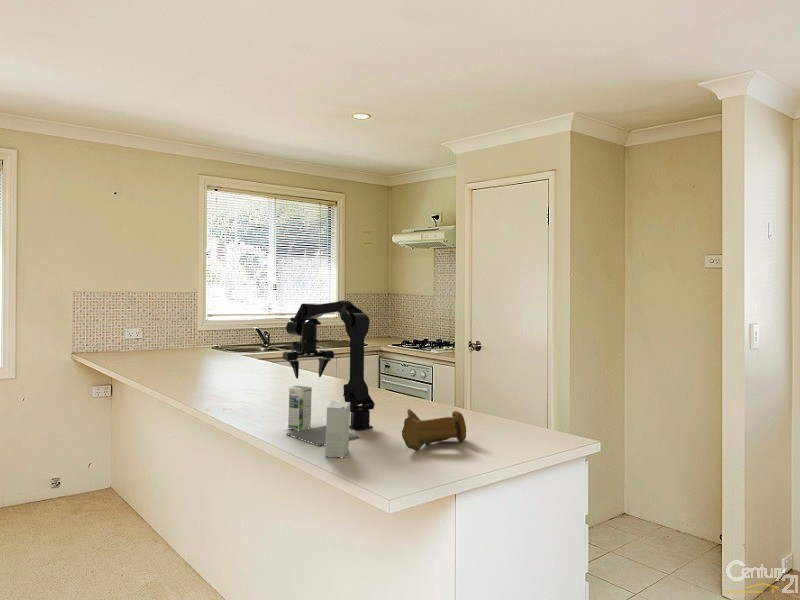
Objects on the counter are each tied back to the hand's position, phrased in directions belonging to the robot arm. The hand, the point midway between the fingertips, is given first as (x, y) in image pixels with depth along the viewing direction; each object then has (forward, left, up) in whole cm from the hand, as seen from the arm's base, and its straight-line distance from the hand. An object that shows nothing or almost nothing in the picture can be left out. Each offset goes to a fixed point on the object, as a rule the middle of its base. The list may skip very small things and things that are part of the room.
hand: (308, 377), depth 222 cm
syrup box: (-15, +14, -15) cm, 26 cm away
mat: (-28, +14, -14) cm, 35 cm away
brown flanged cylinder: (-58, -5, -15) cm, 61 cm away
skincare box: (-47, +23, -15) cm, 55 cm away
